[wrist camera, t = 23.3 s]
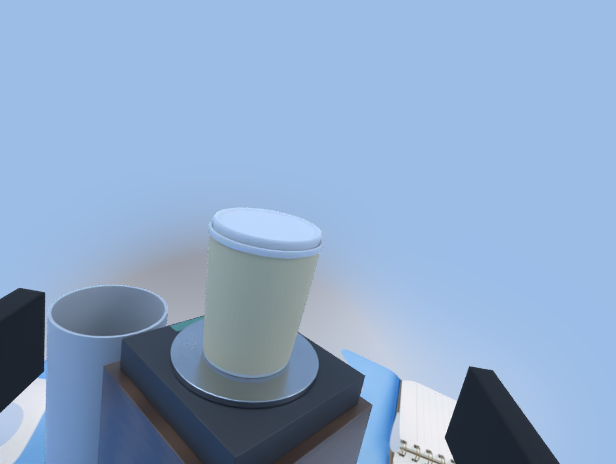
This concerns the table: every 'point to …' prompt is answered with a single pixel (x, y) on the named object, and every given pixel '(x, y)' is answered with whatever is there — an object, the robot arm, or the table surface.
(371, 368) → the table surface
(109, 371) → the dark grey tall block
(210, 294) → the coffee cup
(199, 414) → the scale
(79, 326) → the cylinder vase
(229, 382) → the scale pan
